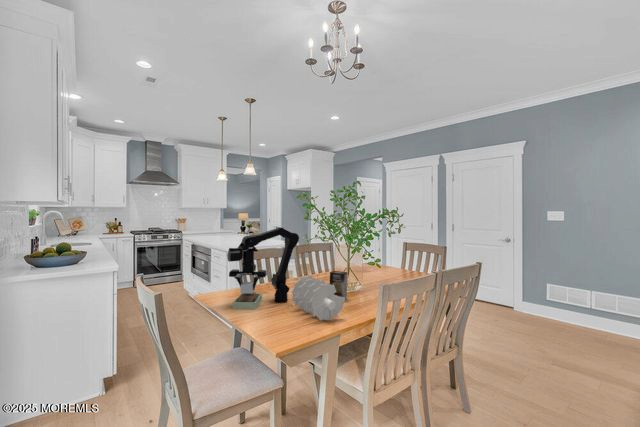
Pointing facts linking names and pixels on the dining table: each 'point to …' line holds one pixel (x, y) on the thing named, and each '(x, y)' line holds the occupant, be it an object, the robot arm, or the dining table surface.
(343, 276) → the coffee box
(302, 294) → the spiral staircase
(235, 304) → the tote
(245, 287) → the gray block
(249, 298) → the walnut block
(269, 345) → the dining table surface
